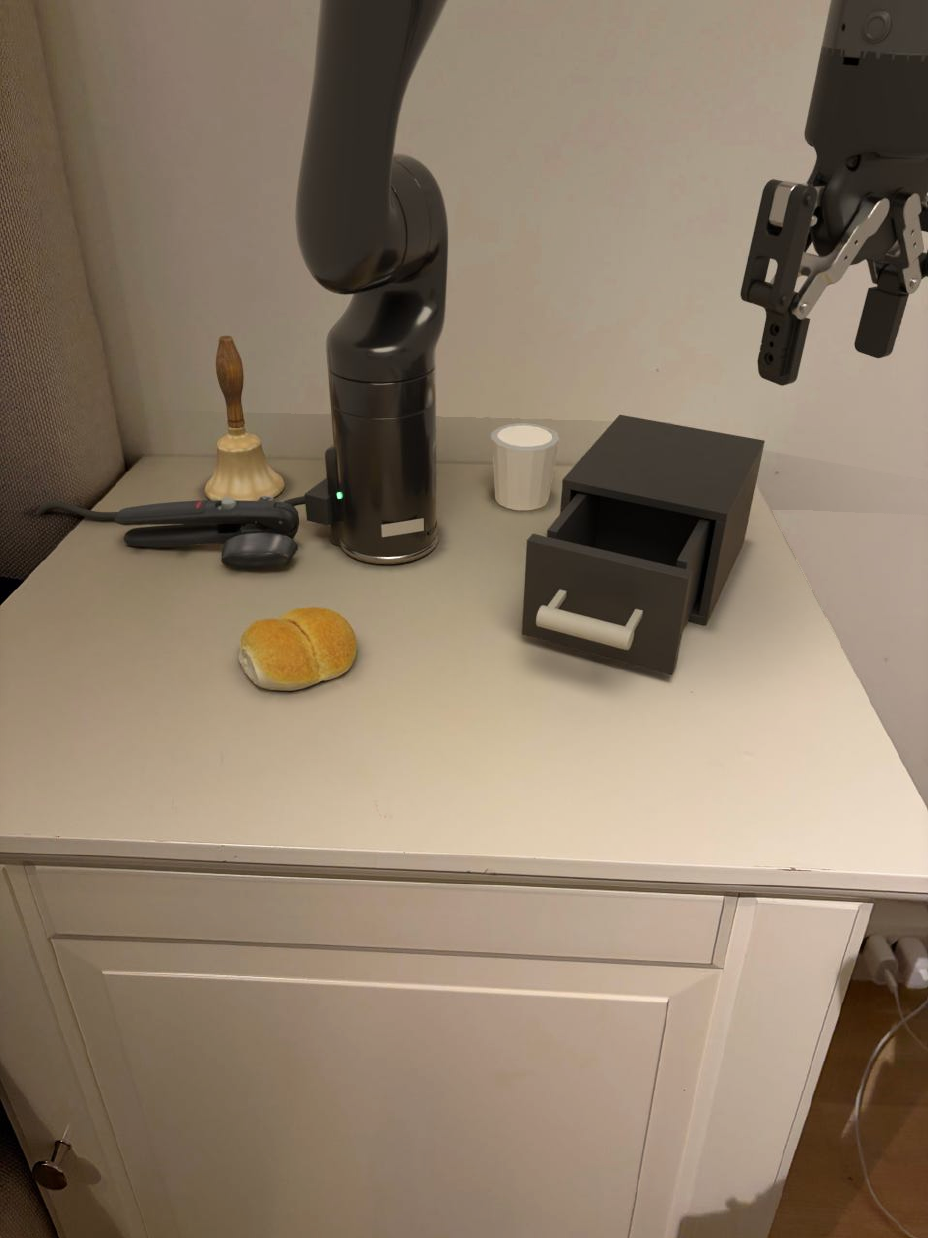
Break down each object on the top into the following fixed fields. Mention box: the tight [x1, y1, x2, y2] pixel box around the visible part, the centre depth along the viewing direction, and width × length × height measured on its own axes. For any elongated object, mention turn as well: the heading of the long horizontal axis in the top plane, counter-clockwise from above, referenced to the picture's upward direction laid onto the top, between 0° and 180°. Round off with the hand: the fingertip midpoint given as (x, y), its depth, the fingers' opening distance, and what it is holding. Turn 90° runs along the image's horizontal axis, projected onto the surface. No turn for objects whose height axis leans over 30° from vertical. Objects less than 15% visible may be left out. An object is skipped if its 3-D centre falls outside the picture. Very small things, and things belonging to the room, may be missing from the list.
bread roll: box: [238, 606, 358, 692], centre depth 72 cm, size 8×9×4 cm
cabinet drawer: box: [521, 491, 716, 677], centre depth 74 cm, size 19×12×9 cm, turn 155°
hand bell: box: [204, 335, 286, 501], centre depth 93 cm, size 8×8×16 cm
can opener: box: [114, 495, 300, 571], centre depth 86 cm, size 18×7×6 cm, turn 80°
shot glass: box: [490, 422, 560, 512], centre depth 95 cm, size 7×7×7 cm
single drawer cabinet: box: [559, 414, 766, 626], centre depth 83 cm, size 16×14×11 cm
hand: (825, 366), depth 54 cm, fingers open, 8 cm apart
